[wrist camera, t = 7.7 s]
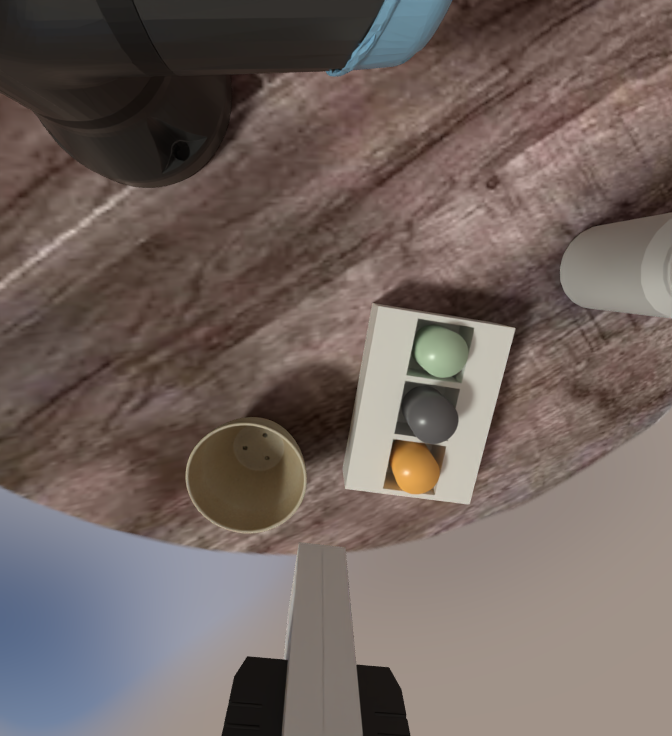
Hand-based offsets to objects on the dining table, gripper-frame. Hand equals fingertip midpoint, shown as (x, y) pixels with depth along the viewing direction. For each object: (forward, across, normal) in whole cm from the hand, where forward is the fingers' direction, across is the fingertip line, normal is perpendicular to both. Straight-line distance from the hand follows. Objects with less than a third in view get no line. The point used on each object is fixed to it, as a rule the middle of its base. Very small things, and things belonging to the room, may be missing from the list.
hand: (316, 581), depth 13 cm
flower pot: (+27, -5, -8) cm, 28 cm away
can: (+27, +24, +14) cm, 38 cm away
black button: (+24, +10, -1) cm, 26 cm away
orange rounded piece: (+25, +10, -6) cm, 28 cm away
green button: (+25, +10, +5) cm, 27 cm away
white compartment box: (+26, +10, -1) cm, 28 cm away
